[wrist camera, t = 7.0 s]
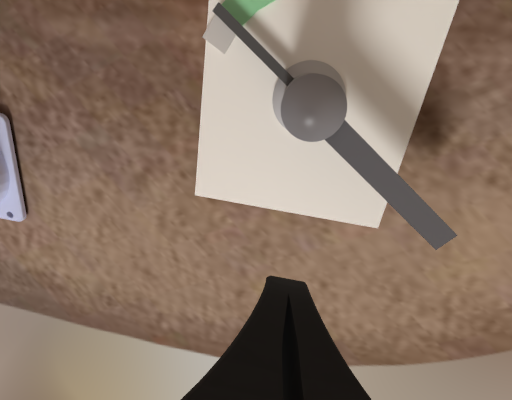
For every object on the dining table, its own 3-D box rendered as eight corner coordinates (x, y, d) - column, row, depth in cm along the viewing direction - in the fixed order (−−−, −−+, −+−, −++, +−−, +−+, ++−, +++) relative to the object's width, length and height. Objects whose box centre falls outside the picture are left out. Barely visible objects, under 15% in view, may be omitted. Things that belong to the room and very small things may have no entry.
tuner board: (197, 189, 21) (191, 195, 20) (215, -57, 15) (208, -66, 14) (374, 221, 20) (378, 229, 19) (457, -21, 15) (471, -28, 14)
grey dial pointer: (201, 32, 16) (174, 21, 12) (236, -17, 15) (218, -44, 11) (399, 226, 19) (425, 263, 15) (439, 196, 18) (476, 229, 14)
